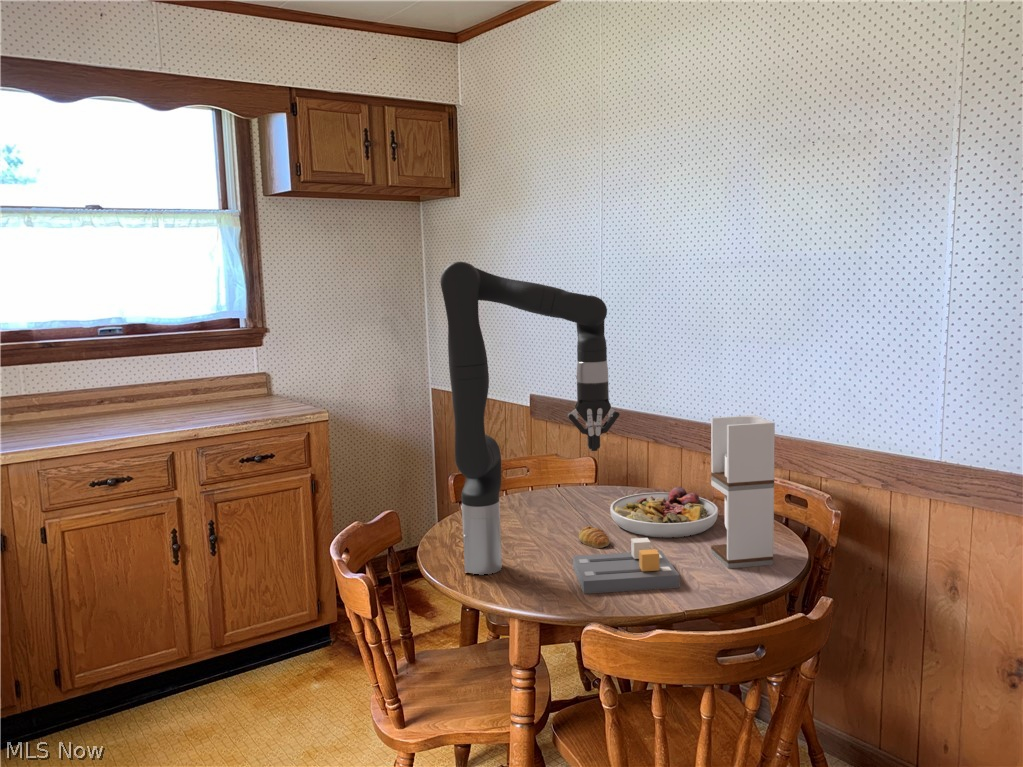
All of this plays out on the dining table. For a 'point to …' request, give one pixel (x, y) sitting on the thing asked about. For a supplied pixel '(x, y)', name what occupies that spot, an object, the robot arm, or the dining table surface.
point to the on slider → (639, 546)
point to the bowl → (664, 513)
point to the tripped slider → (649, 560)
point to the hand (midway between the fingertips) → (594, 450)
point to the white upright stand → (744, 488)
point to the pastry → (593, 537)
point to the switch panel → (622, 573)
